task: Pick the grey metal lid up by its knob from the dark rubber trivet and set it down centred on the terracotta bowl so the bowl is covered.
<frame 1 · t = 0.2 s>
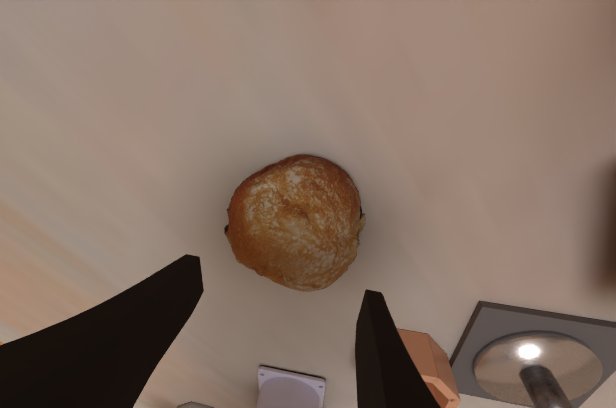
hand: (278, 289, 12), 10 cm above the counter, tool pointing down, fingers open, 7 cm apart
trivet: (526, 359, 24), on the counter
lid: (530, 365, 24), point 1 cm above the counter, touching trivet
bowl: (400, 357, 27), on the counter
bread roll: (298, 212, 22), on the counter
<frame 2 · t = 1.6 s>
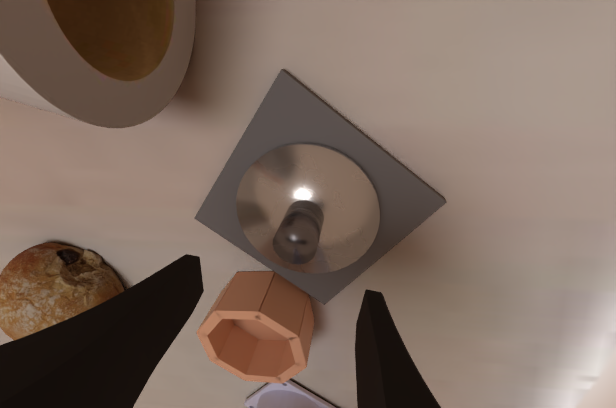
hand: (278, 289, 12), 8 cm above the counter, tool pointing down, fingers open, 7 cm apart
trivet: (308, 206, 18), on the counter
lid: (307, 211, 18), point 1 cm above the counter, touching trivet
bowl: (267, 307, 24), on the counter
bread roll: (88, 281, 27), on the counter
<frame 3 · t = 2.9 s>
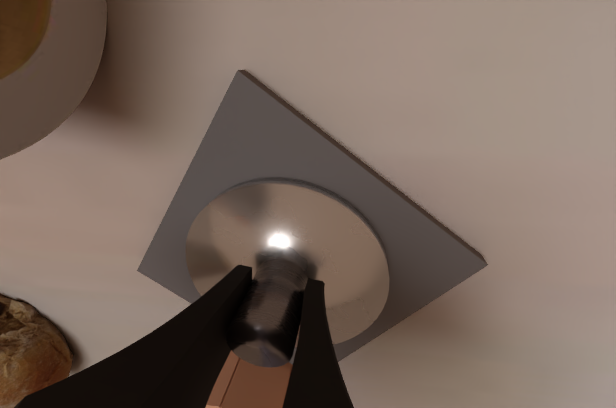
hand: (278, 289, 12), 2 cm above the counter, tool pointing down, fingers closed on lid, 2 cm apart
trivet: (289, 260, 13), on the counter
lid: (286, 268, 13), point 1 cm above the counter, touching gripper, trivet
bowl: (242, 372, 19), on the counter
bread roll: (26, 332, 22), on the counter
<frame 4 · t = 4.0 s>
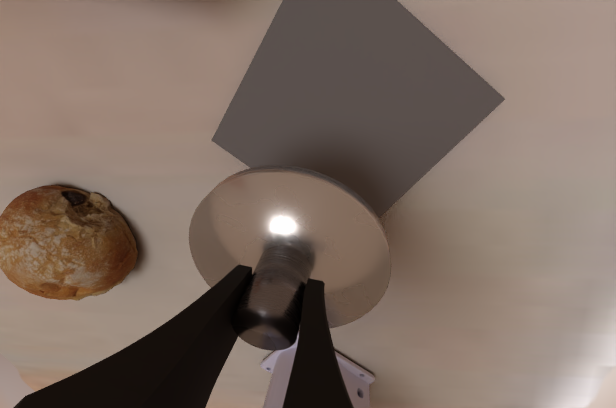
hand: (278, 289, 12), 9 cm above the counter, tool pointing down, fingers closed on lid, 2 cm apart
trivet: (341, 120, 16), on the counter
lid: (289, 254, 13), point 7 cm above the counter, touching gripper
bread roll: (95, 233, 25), on the counter
when the fingers open (6 cm above the counter, at t = 5.0 s): lid stays where it is, resting on bowl.
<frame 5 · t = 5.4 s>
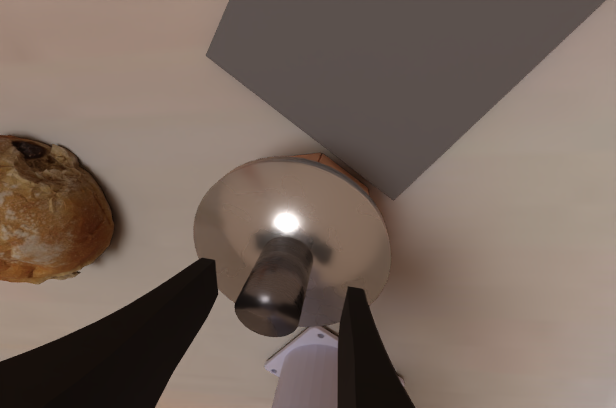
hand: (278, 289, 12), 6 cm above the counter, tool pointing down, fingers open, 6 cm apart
trivet: (387, 18, 12), on the counter
lid: (291, 247, 13), point 4 cm above the counter, touching bowl
bowl: (304, 217, 17), on the counter
bread roll: (63, 202, 20), on the counter
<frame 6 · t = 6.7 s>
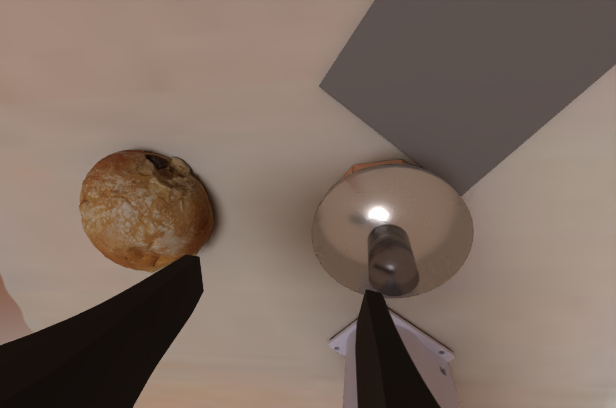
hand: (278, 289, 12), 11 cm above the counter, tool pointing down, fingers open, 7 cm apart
trivet: (465, 58, 15), on the counter
lid: (386, 234, 17), point 4 cm above the counter, touching bowl
bread roll: (167, 204, 24), on the counter
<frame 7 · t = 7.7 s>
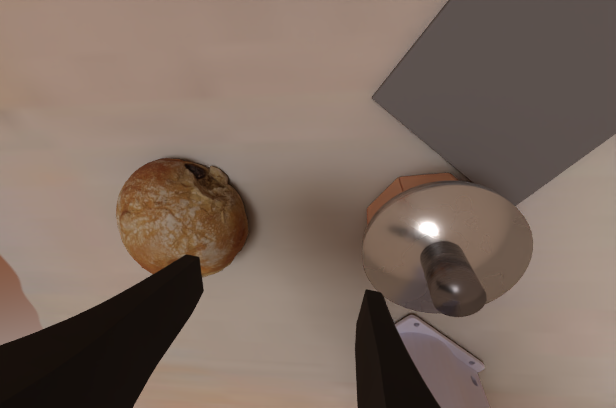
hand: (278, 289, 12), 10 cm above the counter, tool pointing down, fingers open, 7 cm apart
trivet: (526, 73, 15), on the counter
lid: (438, 249, 17), point 4 cm above the counter, touching bowl
bowl: (422, 224, 20), on the counter
bread roll: (199, 212, 24), on the counter
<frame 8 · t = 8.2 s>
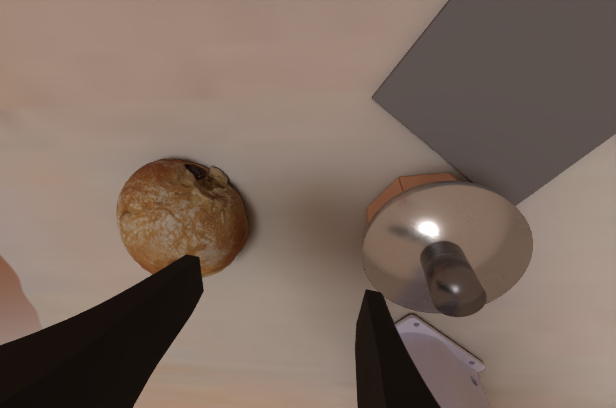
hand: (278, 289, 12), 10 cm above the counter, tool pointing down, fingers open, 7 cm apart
trivet: (526, 73, 15), on the counter
lid: (438, 249, 17), point 4 cm above the counter, touching bowl
bowl: (422, 224, 20), on the counter
bread roll: (199, 212, 24), on the counter
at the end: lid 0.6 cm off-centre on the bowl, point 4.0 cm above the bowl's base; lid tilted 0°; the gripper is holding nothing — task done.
